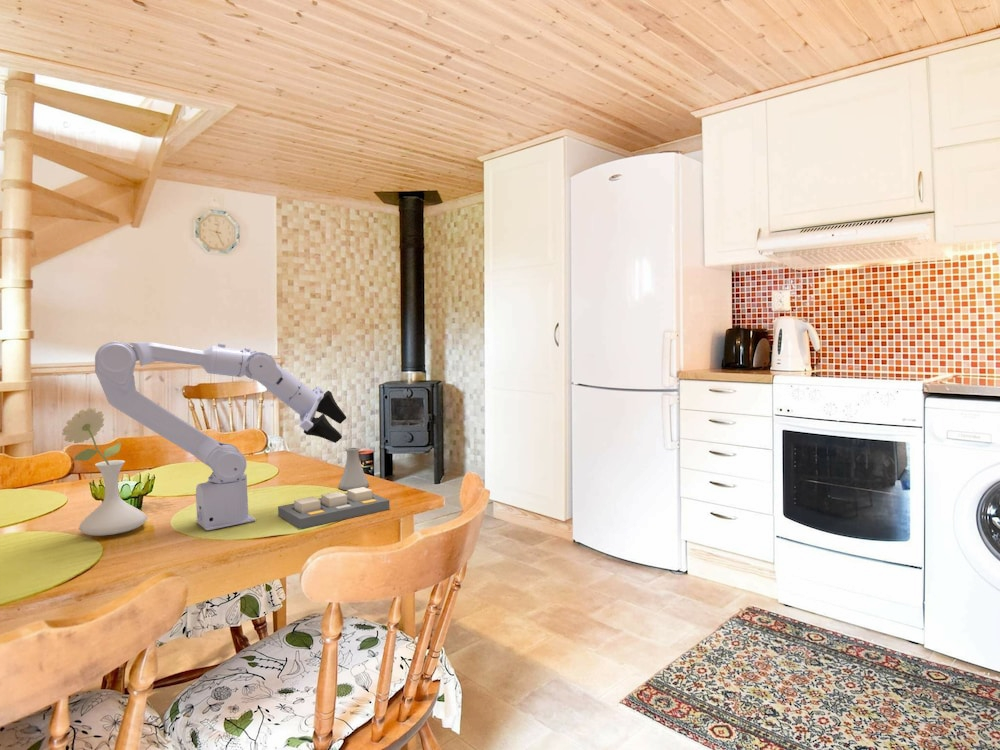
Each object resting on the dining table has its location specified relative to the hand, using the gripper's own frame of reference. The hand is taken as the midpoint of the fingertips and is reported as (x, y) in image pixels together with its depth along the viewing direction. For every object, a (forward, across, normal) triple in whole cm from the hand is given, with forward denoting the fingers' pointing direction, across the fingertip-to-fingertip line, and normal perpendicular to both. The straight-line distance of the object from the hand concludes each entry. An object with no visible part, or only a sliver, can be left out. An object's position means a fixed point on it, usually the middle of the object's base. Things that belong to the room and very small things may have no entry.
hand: (341, 429), depth 136 cm
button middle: (+7, -13, +8) cm, 17 cm away
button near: (+3, -16, +11) cm, 19 cm away
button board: (+9, -13, +9) cm, 18 cm away
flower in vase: (-22, -20, +38) cm, 49 cm away
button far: (+12, -9, +5) cm, 16 cm away
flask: (+16, +6, +15) cm, 23 cm away
